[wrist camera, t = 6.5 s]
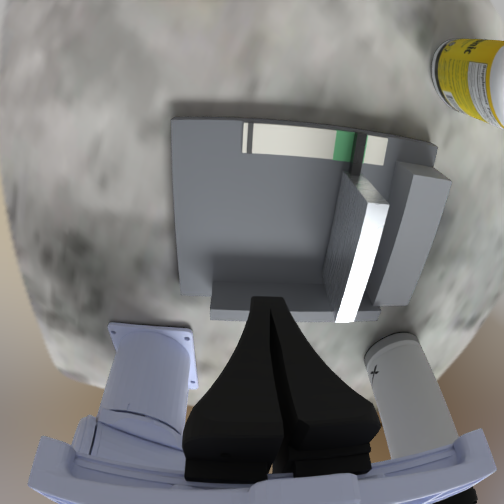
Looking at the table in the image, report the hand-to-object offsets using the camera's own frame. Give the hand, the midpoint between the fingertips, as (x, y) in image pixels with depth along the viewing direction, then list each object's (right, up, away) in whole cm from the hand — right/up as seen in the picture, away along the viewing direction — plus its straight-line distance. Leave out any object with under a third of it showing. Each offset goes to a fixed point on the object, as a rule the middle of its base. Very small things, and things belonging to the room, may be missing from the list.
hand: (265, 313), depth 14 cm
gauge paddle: (+5, +5, +6) cm, 10 cm away
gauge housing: (+3, +5, +8) cm, 10 cm away
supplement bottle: (+14, +15, +2) cm, 20 cm away
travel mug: (+14, -8, +17) cm, 23 cm away
